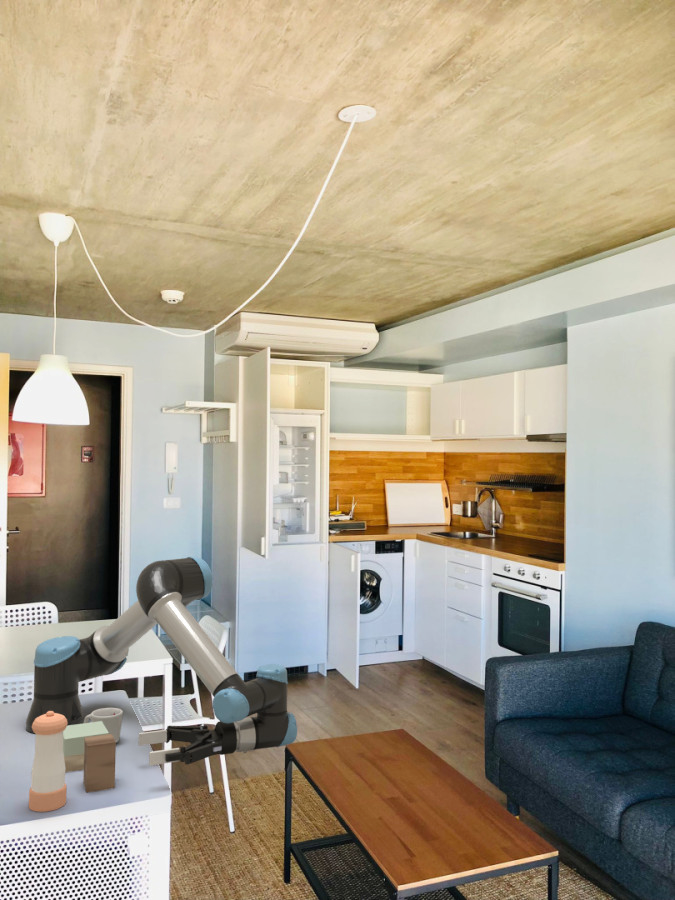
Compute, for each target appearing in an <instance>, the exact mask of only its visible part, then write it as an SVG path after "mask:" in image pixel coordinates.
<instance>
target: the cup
mask: <svg viewBox="0 0 675 900" xmlns="http://www.w3.org/2000/svg"><path fill="white" fill-rule="evenodd" d="M123 715H124V712H123V710H122V709H121V708H117V707H105V708H104V707H103V708H98V709H95V710H93V711H92V712H91V713H90V714H86V716H84V723H91V722H98V721H102V722H103V724H104V726H105V727H106V729H107V731H108V732H109V734H112V735H113V737H114V739H115V742H116V744H117V743H118V742H119V741H120V738H121V732H122V722H123ZM89 720H90V721H89Z"/></svg>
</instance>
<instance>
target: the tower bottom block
mask: <svg viewBox="0 0 675 900" xmlns="http://www.w3.org/2000/svg"><path fill="white" fill-rule="evenodd" d="M64 761H65V773H69V772H76V771H77V772H78V771H81V770H82V771H84V754H79V755H72V756H65V757H64Z"/></svg>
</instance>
